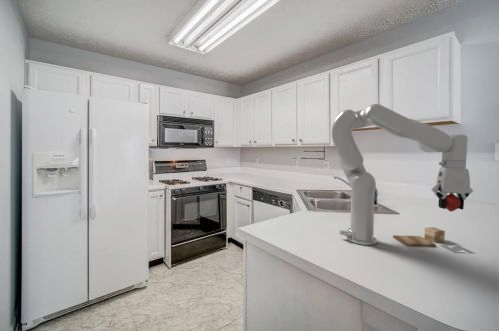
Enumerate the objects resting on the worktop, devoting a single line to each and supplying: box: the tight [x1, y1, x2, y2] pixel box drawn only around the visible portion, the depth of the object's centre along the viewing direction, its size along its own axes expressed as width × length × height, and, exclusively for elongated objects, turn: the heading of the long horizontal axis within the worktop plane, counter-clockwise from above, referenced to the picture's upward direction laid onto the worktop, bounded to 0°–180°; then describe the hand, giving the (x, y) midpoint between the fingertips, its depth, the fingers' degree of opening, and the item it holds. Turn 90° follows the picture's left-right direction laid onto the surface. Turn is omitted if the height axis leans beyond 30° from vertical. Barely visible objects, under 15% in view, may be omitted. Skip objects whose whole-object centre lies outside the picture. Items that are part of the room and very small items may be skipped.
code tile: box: [439, 244, 477, 255], centre depth 94 cm, size 8×8×1 cm
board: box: [392, 234, 437, 248], centre depth 102 cm, size 12×10×1 cm
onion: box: [445, 193, 461, 212], centre depth 94 cm, size 6×6×8 cm
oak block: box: [424, 226, 446, 242], centre depth 104 cm, size 5×5×5 cm
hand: (450, 207), depth 95 cm, fingers closed on onion, 5 cm apart
